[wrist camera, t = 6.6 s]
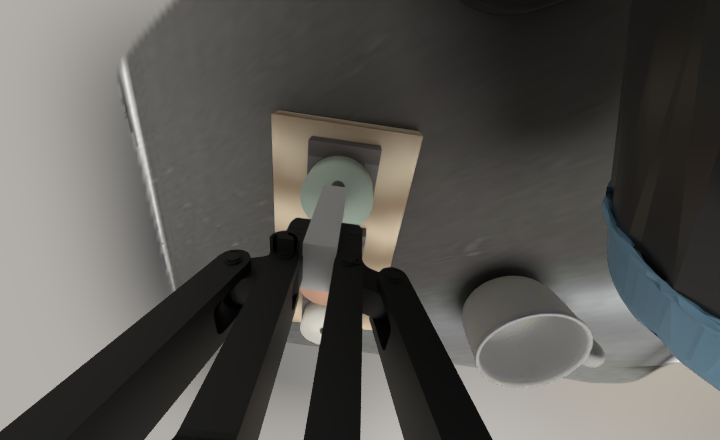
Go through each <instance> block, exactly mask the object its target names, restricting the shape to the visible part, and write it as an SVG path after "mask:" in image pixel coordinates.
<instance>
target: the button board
mask: <svg viewBox="0 0 720 440" xmlns="http://www.w3.org/2000/svg"><path fill="white" fill-rule="evenodd" d="M271 120H272V151H273V183H274V214H275V233H276V232H278V231H286V230H287V228H288V226H289V224H290V222H291V221H292V220H294V219H295V218H305V219H309V217H308V216H307V215H306V213H305V212H304V210H303V208H302V205H301V200H300V193H301V188H302V185H303V183H304V181H305V179H306V177H307V175H308V174H309V172H310V170H311V169H312V167H313V166H314V165H315V164H316V163H318V162H319V161H321V160H322V159H324V158H327V157H331V156H344V157H349V158H351V159H354V160H356V161H357V162H359V163H360V164H361V165H362V166H363V167H364V168H365V169H366V170H367V171H368V173H369V175H370V177H371V180H372V185H373V206H372V210H371V212H370V214H369V216H368V217H367V219H366V220H365V221H364V222H363V223H362V224H360V227H361V229H362V230H363V236H362V260H363V262H364V264H365V265H366V266H367V267H369V268H371V269H373V270H375V271H378V272H380V270H382V269H383V268H387V267H390V265H391V261H392V257H393V254H394V250H395V246H396V242H397V238H398V234H399V230H400V226H401V222H402V218H403V214H404V210H405V206H406V202H407V198H408V195H409V191H410V187H411V183H412V179H413V175H414V171H415V167H416V163H417V159H418V155H419V151H420V147H421V143H422V139H423V135H422V134H421V133H420V132H419V131H415V130H408V129H402V128H395V127H388V126H382V125H375V124H368V123H362V122H355V121H348V120H342V119H335V118H328V117H322V116H315V115H308V114H302V113H295V112H288V111H281V110H278V111H276V112H274V113H272V114H271ZM310 302H312V301H310V300H308V299H307V298H306V297H305V296H304V295H303V294H302V293H301V291H300V289H299V299H298V303H297V306H296V310H295V313H294V317H293V320H292V321H294V322H302V318H303V314H304V310H305V308H306V306H307V305H308V304H309V303H310ZM362 329H366V330H372V327H371V324H370V320H369V316H367V315H365V314H362Z"/></svg>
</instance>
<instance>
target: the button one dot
mask: <svg viewBox="0 0 720 440" xmlns="http://www.w3.org/2000/svg"><path fill="white" fill-rule="evenodd" d="M325 312H326V306H323V305H319V304H316V303H314V302H310V303H309V304H308V305H307V306H306V308H305V310H304V314H303V318H302V322H301V326H300V330H301V333H302V335H303V336H304V337H305V338H306V339H307V340H309V341H311V342H313V343H316V344H320V341H321V335H322V329H323V324H324V318H325Z"/></svg>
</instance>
